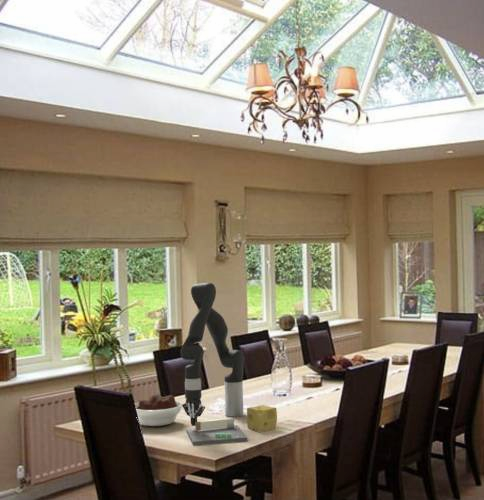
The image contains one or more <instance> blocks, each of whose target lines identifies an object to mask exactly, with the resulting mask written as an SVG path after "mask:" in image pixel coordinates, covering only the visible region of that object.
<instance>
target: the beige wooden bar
mask: <svg viewBox="0 0 484 500" xmlns="http://www.w3.org/2000/svg"><path fill="white" fill-rule="evenodd" d="M234 425H235V417H225V418H218V419H209V420H201V421H197V422H195V426H194V427H195V430H196V431H198V430H206V429H214V428H223V427H227V428H233V427H234Z"/></svg>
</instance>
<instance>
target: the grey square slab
mask: <svg viewBox="0 0 484 500" xmlns="http://www.w3.org/2000/svg"><path fill="white" fill-rule="evenodd" d="M185 431H186V434H187V436H188V438H189V439H190V442H191V444H192V445H193V446H200V445H211V444H213V443H214V444H225V443H227V444H228V443H235V442H236V443H237V442H238V443H239V442H248V440H249V439H248V436H247V435H246V434H245V433H244V431H243V430H242V429H241V428H240V426H238V424H236V425H235V424H234V427H233V428H227V427H223V428H214V429H206V430H198V431H196V430H195V428H193V427H192V428H186V430H185ZM214 444H213V445H214Z"/></svg>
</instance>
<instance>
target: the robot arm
mask: <svg viewBox="0 0 484 500" xmlns="http://www.w3.org/2000/svg"><path fill="white" fill-rule="evenodd" d="M216 289H217V288H216V286H215V284H213V283H212V282H204V283H195V284H193V285H192V286H191V288H190V294H191V297H192V300H193V303H194V304H195V306H196V307H197V308H198V312H197V313H196V314H195V315H194V317H193V318H192V320H191V322H190V324H189V328H188V329H189V330H188V335H187V336H186V338H185V340H184V342H183V344H182V346H181V349H180V357H181V358H182V359H183V360H184V361H194V362H193V364H188V365H186V366H185V367H184V379H185V380H184V398H185V403H183V404H182V408H183V410H184V412H185V413H186V415H187V416H188V417H190V424H191V426H193V427H195V422H198V417H201V416H202V414H203V412H204V411H205V409H206V406H205V405H203V404H202V401H201V399H202V379H201V367H202V361H203V357H204V348H203V346H202V345H200V344H196V343H200V342H202V341H203V338H204V334H205V333H204V332H205V328H207V330H208V332H209V334H210V337H211V338H212V341H213V343H214V346H215V349H216V351H217V355H218V358H219V361H220V363H221V365H222V366H223V367H224V368H226V369H231V370H232V371H231V373H228V374H226V375H224V402H225V403H224V404H225V405H224V409H225V410H224V411H225V412H224V413H225V416H226V417H228V418H236V417H237V418H238V417H242V416H244V387H243V386H244V385H243V384H244V383H243V381H244V380H243V377H244V369H245V368H244V363H245V360H244V353H243V352H242V350H239V349H229V348H228V345H227V343H226V342H227V340H226V339H227V337H228V331H229V328H228V325H227V324H226V321H225V319H224V317H223V316H222V315H221V314H220V312H218V311H217V310H216V309H214V308H213V305H214V303H215V299H216V295H217V290H216Z"/></svg>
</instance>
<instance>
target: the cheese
mask: <svg viewBox="0 0 484 500" xmlns="http://www.w3.org/2000/svg"><path fill="white" fill-rule="evenodd" d="M277 421H278V411H277V407H276V406H268V405H264V404H262V405H256V406H251V407H247V408H246V424H247V425H246V426H247V429H248V430H253V431H255V432H257V433H263V432H267V431H271V430H276V429H277V423H278V422H277Z"/></svg>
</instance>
